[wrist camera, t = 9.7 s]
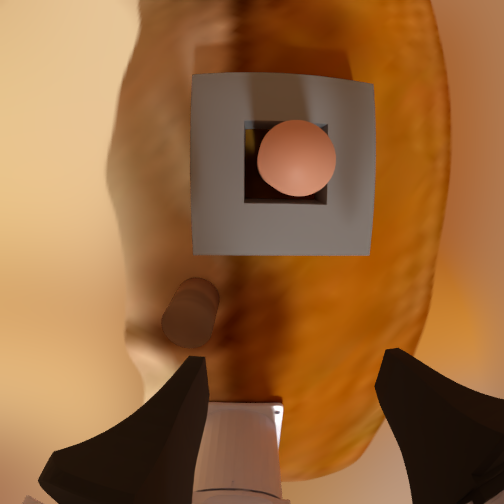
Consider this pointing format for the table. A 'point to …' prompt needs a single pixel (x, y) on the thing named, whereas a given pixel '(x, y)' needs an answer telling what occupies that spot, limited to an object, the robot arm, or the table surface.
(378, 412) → the table surface
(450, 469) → the robot arm
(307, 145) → the long peg
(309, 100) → the hole block
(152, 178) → the table surface
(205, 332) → the short peg
